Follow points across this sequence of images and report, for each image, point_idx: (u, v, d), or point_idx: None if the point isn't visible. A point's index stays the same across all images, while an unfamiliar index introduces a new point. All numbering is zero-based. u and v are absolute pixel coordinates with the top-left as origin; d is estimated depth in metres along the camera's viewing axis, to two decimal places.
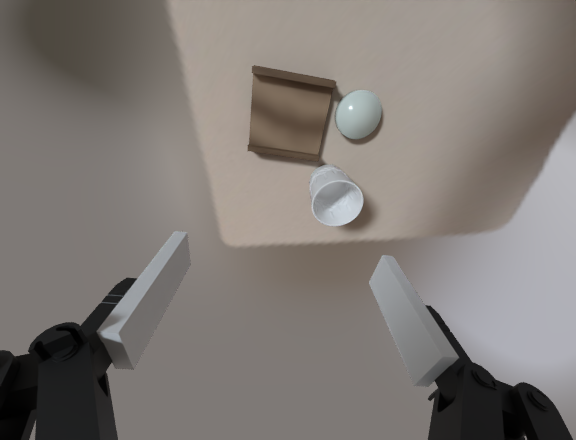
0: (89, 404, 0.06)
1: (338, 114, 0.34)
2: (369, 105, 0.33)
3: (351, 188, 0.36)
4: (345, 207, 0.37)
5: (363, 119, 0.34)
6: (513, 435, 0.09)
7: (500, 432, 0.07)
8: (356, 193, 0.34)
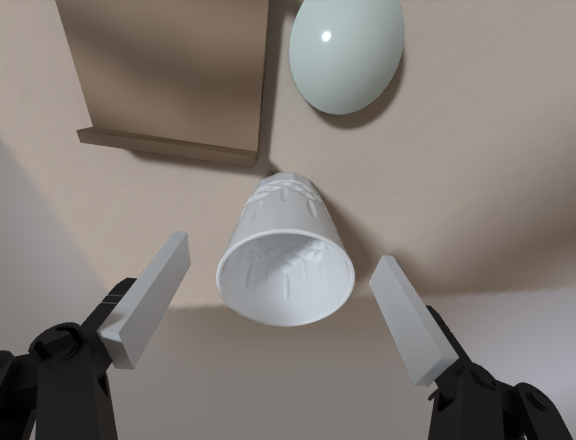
0: (89, 404, 0.06)
1: (292, 47, 0.13)
2: (372, 20, 0.13)
3: None
4: (317, 270, 0.17)
5: (357, 62, 0.14)
6: (512, 435, 0.09)
7: (500, 432, 0.07)
8: None
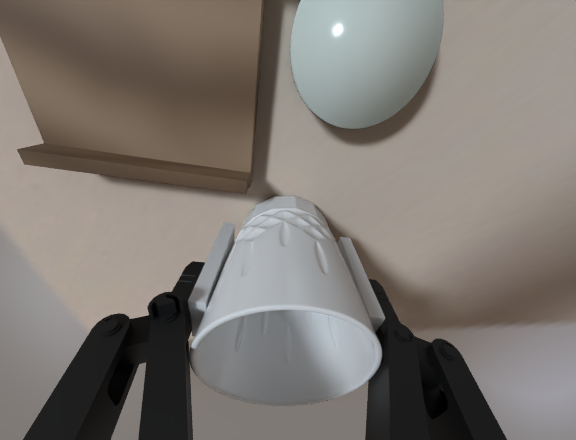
0: (181, 366, 0.07)
1: (294, 43, 0.10)
2: (402, 7, 0.09)
3: None
4: (325, 321, 0.13)
5: (378, 62, 0.10)
6: (433, 386, 0.10)
7: (418, 378, 0.08)
8: None
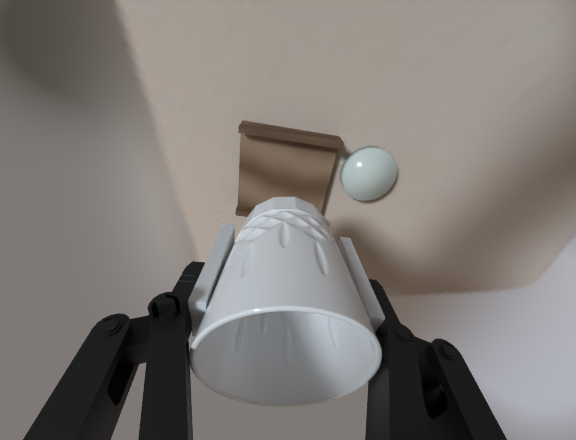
0: (181, 366, 0.07)
1: (345, 175, 0.28)
2: (382, 165, 0.27)
3: None
4: (325, 321, 0.13)
5: (375, 180, 0.28)
6: (433, 386, 0.10)
7: (418, 378, 0.08)
8: None
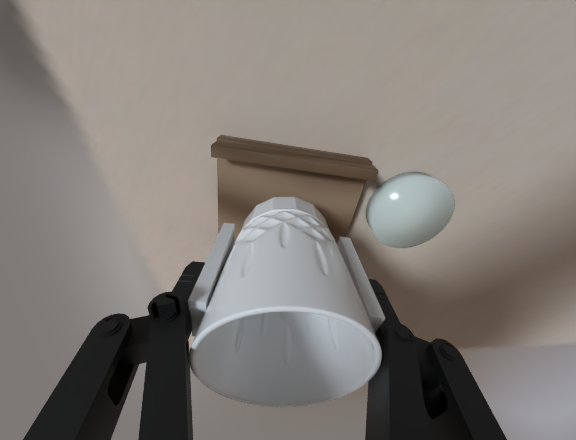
0: (181, 366, 0.07)
1: (375, 214, 0.19)
2: (433, 201, 0.18)
3: None
4: (325, 322, 0.13)
5: (419, 221, 0.19)
6: (433, 386, 0.10)
7: (418, 378, 0.08)
8: None
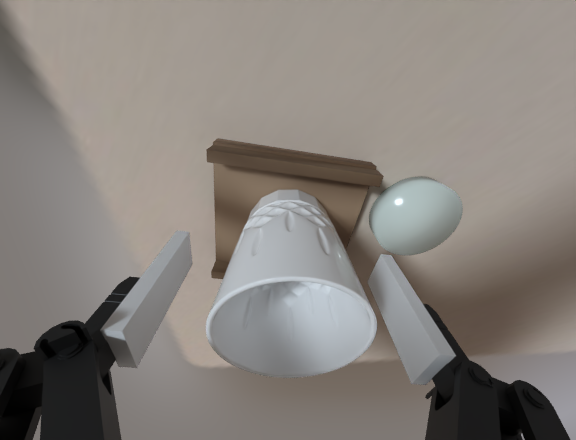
0: (93, 402, 0.06)
1: (379, 221, 0.18)
2: (440, 208, 0.17)
3: None
4: (325, 304, 0.14)
5: (425, 228, 0.18)
6: (509, 432, 0.09)
7: (497, 430, 0.07)
8: None
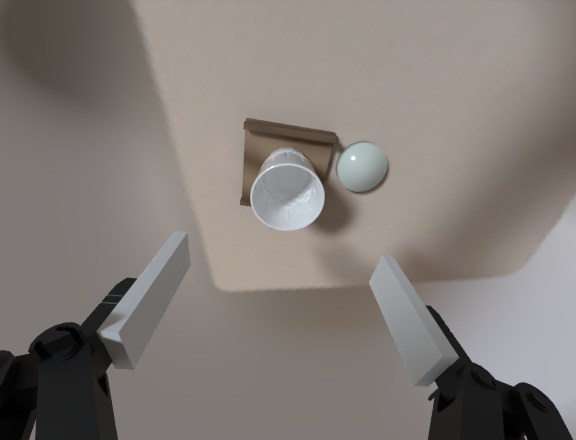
0: (89, 404, 0.06)
1: (340, 167, 0.31)
2: (374, 159, 0.30)
3: (313, 178, 0.26)
4: (306, 204, 0.27)
5: (367, 172, 0.31)
6: (513, 435, 0.09)
7: (500, 432, 0.07)
8: (317, 184, 0.24)
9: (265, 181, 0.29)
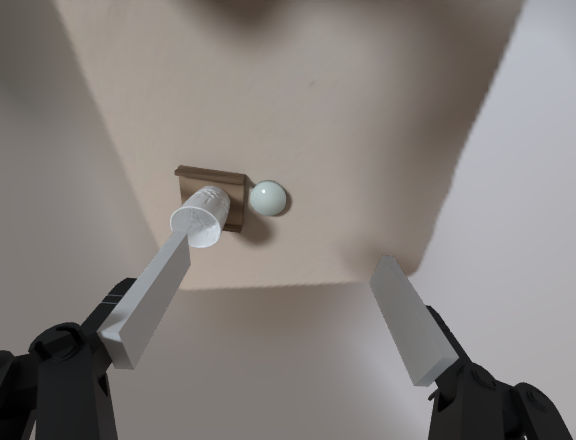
0: (89, 404, 0.06)
1: (251, 199, 0.42)
2: (275, 193, 0.42)
3: None
4: None
5: (272, 202, 0.43)
6: (513, 435, 0.09)
7: (500, 432, 0.07)
8: None
9: (194, 210, 0.41)
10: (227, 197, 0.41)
